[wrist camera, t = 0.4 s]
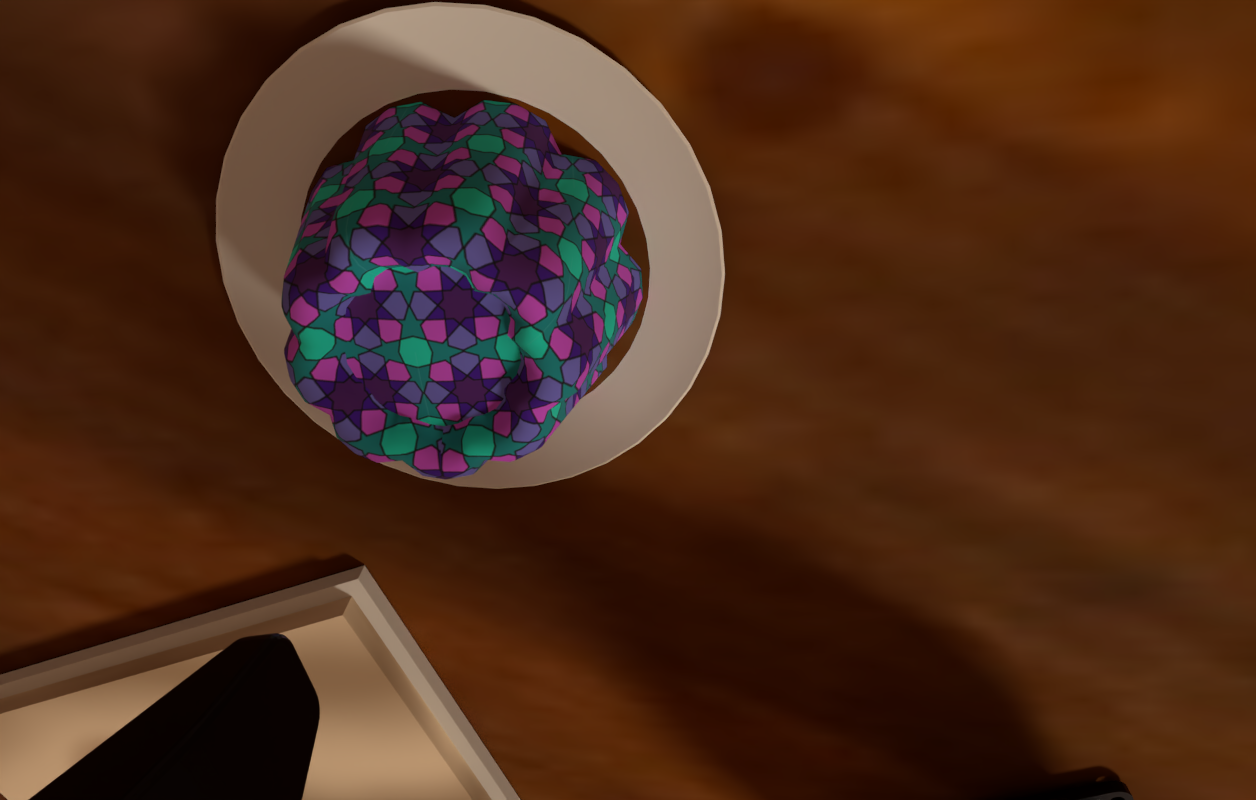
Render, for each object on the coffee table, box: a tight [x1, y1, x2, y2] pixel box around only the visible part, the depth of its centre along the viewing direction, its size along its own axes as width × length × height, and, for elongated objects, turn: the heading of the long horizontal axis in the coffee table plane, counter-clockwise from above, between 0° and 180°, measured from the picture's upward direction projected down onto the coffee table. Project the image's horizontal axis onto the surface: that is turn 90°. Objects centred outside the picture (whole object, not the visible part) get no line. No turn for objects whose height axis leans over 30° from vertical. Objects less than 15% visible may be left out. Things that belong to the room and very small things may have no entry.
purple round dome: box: [216, 2, 725, 489], centre depth 19 cm, size 12×12×5 cm
